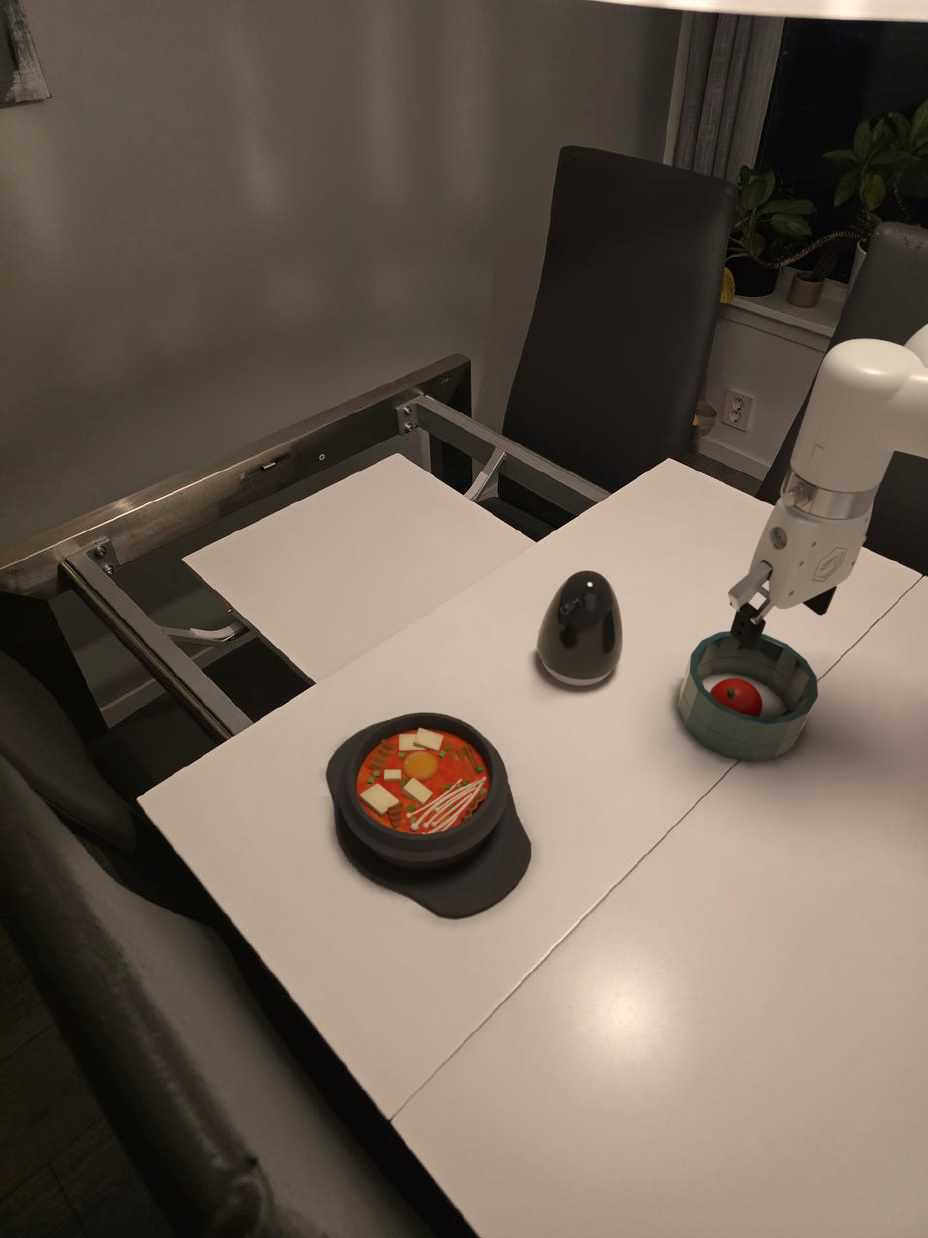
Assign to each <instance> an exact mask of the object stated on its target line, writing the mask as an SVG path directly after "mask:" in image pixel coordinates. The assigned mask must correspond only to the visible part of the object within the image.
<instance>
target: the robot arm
mask: <svg viewBox="0 0 928 1238" xmlns="http://www.w3.org/2000/svg"><path fill="white" fill-rule="evenodd" d="M807 403H808V404H807V406H806V409H805V412H804V416H803V419H802V422H801V425H800V427H799V432H798V434H797V437H796V441H795V444H794V446H793V450H792V453H791V456H790V459H789V462H788V466H787V469H786V472H785V475H784V477H783V481H782V484H781V487H780V492H779V494H780V498H779V499H778V500H777V501H776V503H775V504H774V507H773V509H772V511H771V513H770V515H769V516H768V519H767V521H766V523H765V525H764V528H763V530H762V532H761V535H760V537H759V540H758V542H757V545H756V548H755V549H754V552H753V556H752V559H751V561H750V565H749V568H748V573H747V574H746V575H745V576H744V577H743V578H742V579H741V580H739V581H738V582H737V583H736V584H734V586H732V587H731V588H730V589H729V590H728V592H727V595H728V600H729V605H730V607H732V608H733V609H734V610H736V611H735V613H734V617H733V620H732V624H731V627H730V630H729V631H730V632H731V634H732V635H733V636H734V637H735V638H736V639H737V640H738V641H740V642H741V643H742V644H743V645H744V646H745V647H747V648H748V649H749V650H750V651H753V650H755V649H757V647H758V644H759V641H760V638H761V636H762V634H764V633H763V632H764V631H765V627H766V623H767V621H766V620H765V617H766V616H768V614H769V612H771V610H772V609H773V608H774V607H776V609H779V610H786V609H787V610H788V609H791V608H794V607H796V606H798V605H800V604H803V605H804V606H805V607H807V608H808V609H809V610H811V611H812V612H813V613H814V614H816V616H817V615H818V616H820V617H821V616H822V617H823V615H826V614H827V612H828V610H829V607H830V606H831V602H832V600H833V598H834V595H835V593H836V590H837V589H838V585H841V584H842V583H843V582H844V581H846V580H847V579H848V578H849V577H850V576H851V574H852V573H853V570H854V568H855V565H856V564H857V559H858V557H859V555H860V552H861V549H862V546H863V545H864V543H866V540H867V538H868V537H867V536H866V534H867V531H868V528H869V524H870V522H871V518H872V512H873V508H874V502H875V501H874V500H875V497H876V495H877V493H878V490H879V487H880V485H881V484H882V483H881V482H882V481H883V478H884V476H885V474H886V471H887V469H888V467H889V464H890V461H891V460H892V457H893V454H894V453H895V451H896V452H901V453H904V454H907V455H908V454H909V455H913V456H916V457H920V458H924V459H927V460H928V323H927V324H925V325H924V326H923V327H921V328H920V329H919V330H917V331H916V332H915V333H914V334H913V335H912V336H911V337H910V338H909V339H908V340H907V341H906V343H905V344H904V345H900V344H898V343H895V342H891V341H889V340H888V341H886V340H881V339H876V338H854V339H850V340H849V339H848V340H845V341H843V342H840V343H838V344H836V345H834V346H833V347H832V348H831V349H830V350H829V351H828V352H827V353H826V354H825V356H824V358H822V362H821V363H820V366H819V369H818V372H817V375H816V378H815V382H814V384H813V387H812V391H811V393H810V397H809V400H808V402H807ZM766 582H768V589H767V588H766V587H764V586H763V585H764V584H765V583H766ZM757 593H758V594H760V595H761V596H763V597H764V598H765V600H764V601H763V602H762V603H761V605H760V606H759V607H758V608H756V607H755V606H754V605H752V604H751V603H750V602H751V600H753V598H755V596H756V595H757Z"/></svg>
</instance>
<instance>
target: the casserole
mask: <svg viewBox="0 0 928 1238" xmlns="http://www.w3.org/2000/svg"><path fill="white" fill-rule="evenodd" d="M325 775H326V778H327V782H328V786H329V788H330V791H331V796H332V797H333V806H334V807H333V808H334V822H335V831H336V833H337V837H338V839H339V843H340V846H341V847H342V849H343V851H344V853H345V854H346V855H347V858H348V859H349V860H350V861H351V862H352V863H353V864H354V865H355V866H356V867H357V868H358V869H359V870H360V871H361V873H363V874H365V875H367V876H368V877H369V878H370V879H372V880H374V881H375V882H378V883H380V884H382V885H386V886H388V887H390V888H393V889H395V890H397V891H399V892H400V891H401V892H403V893H405V894H408V895H410V896H411V897H413V898H414V899H416V900H418V901H419V902H420V903H422V904H424V905H425V906H427V907H429V908H430V909H432V910H433V911H435V912H437V913H438V914H440V915H446V916H452V917H457V916H458V917H459V916H463V915H464V916H465V915H469V914H473V913H475V912H479V911H481V910H483V909H485V908H488V907H490V906H491V905H493V904H494V903H496V902H498V901H500V900H501V899H503V898H504V897H505V896H506V895H507V894H508V893H509V892H510V891H511V890H513V888H514V887H515V886H516V885H517V884H518V883H519V882H520V880H521V879H522V877H523V876H524V874H525V873H526V871H527V869H528V867H529V865H530V861H531V859H532V841H531V840H530V838H529V836H528V834H527V832H526V830H525V828H524V826H523V824H522V821H521V818H520V817H519V815H518V812H517V808H516V804H515V800H514V796H513V792H512V788H511V785H510V783H509V776H508V772H507V769H506V764H505V762H504V761H503V758H502V757H501V755H500V753H499V750H498V749H497V748H496V747H495V746H494V745H493V743H491V741H490V740H489V739H488V738H486V737H485V736H484V735H483V734H482V732H480V731H479V730H478V729H476V728H475V727H474V726H472V724H470V723H468V722H466V721H464V720H462V719H460V718H458V717H455V716H451V715H448V714H445V713H438V712H430V711H429V712H421V711H419V712H412V713H406V714H402V715H399V716H395V717H392V718H390V719H386V720H383V721H379V722H377V723H376V722H375V723H373V724H371V725H369V726H366V727H364V728H363V729H360V730H359V731H357V732H356V733H354V734H352V735H351V737H349V738H347V739H346V740H345V741H344V742H343V743H341V745H340V746H339V747H338V748H337V749H336V750H335V751H334V753H333V754H332V756H331V757H330V759H329V760H328V762H327V766H326V771H325Z"/></svg>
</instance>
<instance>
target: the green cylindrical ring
mask: <svg viewBox="0 0 928 1238" xmlns="http://www.w3.org/2000/svg"><path fill="white" fill-rule="evenodd" d="M723 674H733V675H737V676H744V677H747V678H751V679H753V680H755V681H757V682H759V683H761V684H763V685H765V686H766V687H769V688H770V689H771V690H772V691H773V692H774V693H775V694H776V695H778V696H779V697H780V698H781V699H782V701H783V702H784V704H785V706H786V707H787V709H788V712H789V714H787V715H784V716H775V717H774V716H773V717H766V718H765V717H761V716H760V717H755V716H750V715H745V714H741V713H739V712H737V711H735V710H733V709H731V708H729V707H727V706H725V705H723V704H721V703H720V702H718V701H717V700H716V699H715V698H714V697H713V696H712V695H711V694H710V691H708V689H706V688H705V686H704V684H703V682H702V679H703V680H704V679H705V678H706V677H709V676H711V675H712V676H713V675H723ZM818 688H819V687H818V677H817V675H816V674H815V672H814V670H813V669H812V667H811V666H810V664H809V662H808V660H807V659H806V658H804V657H803V656H802V655H801V654H800V653H798V652H797V651H796V650H795V649H794V648H793V647H791V646H790V645H789V644H787V643H785V642H783V641H780V639H777V638H774V637H772V636H770V635H768V634H766V633H762V636H761V638H760V641H759V644H758V647H757V649H755V650H753V651H750V650H749V649H748V648H747V647H745V646H744V645H743V644H742V643H741V642H740V641H738V640H737V639H736V638H735V637H734V636H733V635H732V634H731V632H730V630H727V631H719V632H717V633H714V634H712V635H710V636H708V637H706V638H704V639H701V641H700V642H699V643H698V644H697V646H696V647H695V648H694V649H693V651H692V652H691V654H690V656H689V659H688V663H687V666H686V670H685V672H684V676H683V680H682V683H681V686H680V689H679V694H678V704H677V711H678V713H679V715H680V717H681V720H682V722H683V725H684V727H685V729H687V731H688V732H690V734H691V735H692V736H693V737H694V738H695V739H696V740H697V741H698V742H699V743H700V744H701V745H702V746H705V747H706V748H708V749H710V750H712V751H714V752H715V753H718V754H719V755H721V756H723V757H726V758H730V759H735V760H740V761H745V762H758V761H759V762H760V761H767V760H774V759H776V758H778V757H780V756H781V755H783V754H784V753H786V752H788V751H790V750H791V749H792V748H793V746H794V744H795V742H796V741H797V739H798V737H799V736H800V734H801V731H802V730H803V728H804V725H805V724H806V722H807V719H808V718H809V715H810V714H811V712H812V709H813V707H814V706H815V704H816V701H817V700H818V697H819V689H818Z"/></svg>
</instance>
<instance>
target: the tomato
mask: <svg viewBox="0 0 928 1238" xmlns="http://www.w3.org/2000/svg"><path fill="white" fill-rule="evenodd" d="M709 693H710V694H711V695H712V696H713V697H714V698H715V699H716V700H717V701H718V702H720V703H721V704H723V705H725V706H727V707H729V708H731V709H733V710H735V711H737V712H739V713H741V714H745V715H750V716H755V717H761V715H762V713H763V709H764V705H763V703H764V702H763V699H762V696H761V693H760V691H759V690H758V688H757V687H756V686H755V685H753V683H751V682H749V681H748V680H745V679H743V678H738V677H731V678H725V679H723V680H721V681H719V682H717V683H716V684H715V685H714V686H713V687H712V688H711V689H710V691H709Z"/></svg>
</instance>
